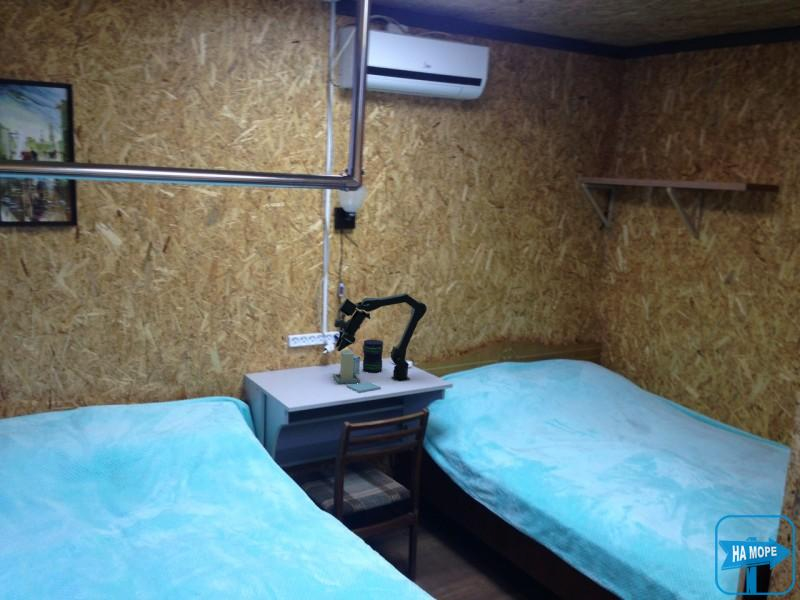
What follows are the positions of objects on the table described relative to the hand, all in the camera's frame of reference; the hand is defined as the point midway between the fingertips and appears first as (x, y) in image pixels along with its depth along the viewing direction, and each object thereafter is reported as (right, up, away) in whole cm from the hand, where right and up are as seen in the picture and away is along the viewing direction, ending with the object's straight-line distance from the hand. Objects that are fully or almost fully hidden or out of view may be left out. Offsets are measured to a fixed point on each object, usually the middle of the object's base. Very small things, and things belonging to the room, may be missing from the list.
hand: (337, 348), depth 323 cm
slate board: (+13, -17, -11) cm, 24 cm away
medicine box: (+5, -13, +15) cm, 21 cm away
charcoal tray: (+4, -15, 0) cm, 16 cm away
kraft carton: (+4, -15, 0) cm, 15 cm away
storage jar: (+16, -13, +21) cm, 29 cm away
